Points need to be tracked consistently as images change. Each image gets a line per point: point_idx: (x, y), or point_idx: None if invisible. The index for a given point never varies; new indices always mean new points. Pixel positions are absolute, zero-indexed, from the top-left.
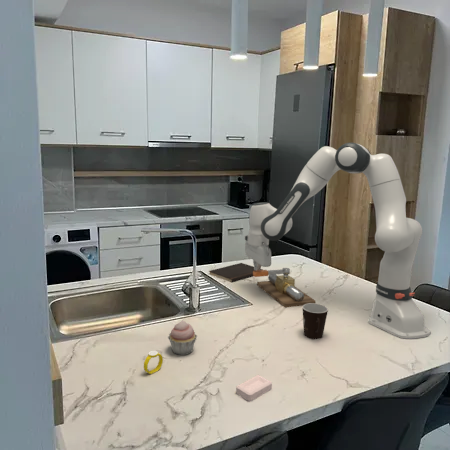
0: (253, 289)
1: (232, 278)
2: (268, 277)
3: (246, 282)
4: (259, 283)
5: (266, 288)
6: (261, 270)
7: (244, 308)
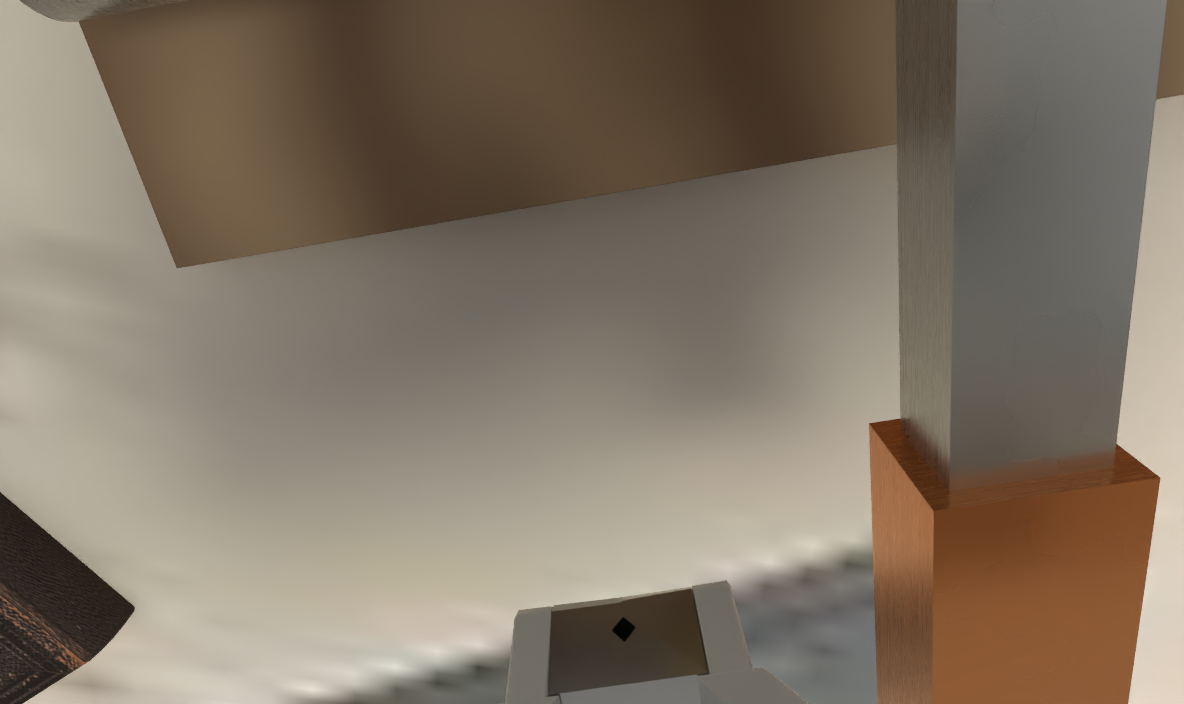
0: (447, 361)
1: (66, 638)
2: (81, 19)
3: (87, 400)
4: (272, 245)
5: (575, 179)
6: (982, 667)
7: (1150, 616)
